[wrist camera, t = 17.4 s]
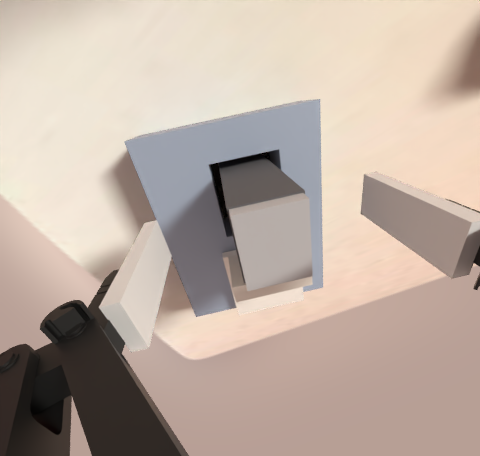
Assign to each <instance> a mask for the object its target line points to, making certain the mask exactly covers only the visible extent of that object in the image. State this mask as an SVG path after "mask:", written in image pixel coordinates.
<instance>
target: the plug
mask: <svg viewBox="0 0 480 456" xmlns="http://www.w3.org/2000/svg"><path fill="white" fill-rule="evenodd" d="M218 164H219V170H220V175H221V181H222V187H223V192H224V198H225V204H226V209H227V213H228V217H229V222H230V226H231V230H232V234H233V238H234V243H235V247H236V251H237V255H238V259H239V264H240V268H241V272H242V276H243V281H244V283H246V287H247V291H251V290H256V289H260V288H264V287H268V286H273V285H277V284H281V283H286V282H290V281H294V280H299V279H303V278H307V277H312V276H313V271H312V248H311V226H310V203H309V198H308V197H307V196H306V195H305V190H304V189H303V188H301V187H300V186H299V185H298V184H297V183H295V182H294V181H293V180H292V179H291V178H290V177H288V176H287V175H286V174H285V173H284V172H282V171H281V170H280V169H279V168H278V167H277V166H275V165H274V164H273V163H272V162H271V161H269V160H268V159H267V158H266V157H265V156H263V155H262V154H261V153H259V154H255V155H250V156H246V157H241V158H237V159H232V160H228V161H223V162H219V163H218Z"/></svg>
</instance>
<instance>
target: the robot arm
mask: <svg viewBox="0 0 480 456" xmlns="http://www.w3.org/2000/svg"><path fill="white" fill-rule="evenodd" d="M361 214H362V215H364V216H365V217H366V218H368V219H369V220H371V221H372V222H373V223H375V224H376V225H378V226H379V227H380V228H382V229H383V230H385V231H386V232H387V233H389V234H390V235H392V236H393V237H394V238H396V239H397V240H398V241H400V242H401V243H403V244H404V245H405V246H407V247H408V248H410V249H411V250H412V251H414V252H415V253H417V254H418V255H419V256H421V257H422V258H424V259H425V260H426V261H428V262H429V263H431V264H432V265H433V266H435V267H436V268H438V269H439V270H440V271H442V272H443V273H444V274H446V275H447V276H449V277H450V278H456V277H461V276H465V275H469V273H470V271H471V268H472V266H473V263H475V264H477V265H478V266H480V212H479V211H476V210H474V209H470V208H469V207H466V206H464V205H463V206H462V205H461V204H459V203H456V202H454V201H451V200H447V199H443V198H441V197H438V196H436V195H433V194H431V193H428V192H426V191H423V190H421V189H418V188H416V187H413V186H411V185H408V184H406V183H403V182H401V181H398V180H396V179H393V178H391V177H388V176H386V175H383V174H381V173H379V172H372V173H367V174H364V182H363V193H362V205H361ZM171 257H172V255H171V253H170V250H169V248H168V246H167V243H166V241H165V238H164V236H163V234H162V231H161V229H160V226H159V224H158V222H157V220H155V221H151V222H146V223H144V225H143V227H142V229H141V230H140V232H139V234H138V236H137V238H136V240H135V241H134V243H133V245H132V247H131V249H130V251H129V253H128V254H127V256H126V258H125V260H124V262H123V264H122V265H121V267H120V269H119V270H115V271H113V272H112V273H111V274H110V275H108V276H107V277H106V278H105V280H104V281H103V283H102V285H101V288H100V289H99V290H98V292H97V295H95V297H94V298H93V300H92V302H91V304H90V305H89V307H88V308H87V307H86V305H85V304H84V303H83V302H82V301H80V300H74V301H70V302H67V303H65V304H63V305H61V306H59V307H57V308H56V309H55V310H53V311H52V312H50V313H49V314H48V315H47V316H46V317H45V319H44V320H43V321H42V323H41V326H40V330H41V331H42V332H43V333H45V335H46V336H47V337H48V338H49V339H50V340H51V341H52V343H50V344H48V345H46V346H44V347H42V348H40V349H37V350H35V351H34V350H33V349H32V348H31V347H30V346H29V345H27V344H22V345H17V346H15V347H12V348H10V349H9V350H7V351H5V352H3V353H2V354H0V456H70V429H71V427H70V426H71V399H72V397H73V400H74V403H75V406H76V409H77V412H78V415H79V418H80V421H81V424H82V427H83V430H84V433H85V436H86V439H87V442H88V445H89V448H90V451H91V454H92V456H189V455H188V454H187V452H186V451H185V449H184V448H183V446H182V445H181V443H180V441H179V440H178V438H177V437H176V435H175V434H174V432H173V431H172V429H171V428H170V426H169V425H168V423H167V422H166V420H165V419H164V417H163V415H162V414H161V412H160V411H159V409H158V408H157V406H156V405H155V403H154V402H153V400H152V399H151V397H150V396H149V394H148V392H147V391H146V390H145V388H144V386H143V385H142V383H141V382H140V380H139V379H138V377H137V376H136V374H135V373H134V371H133V370H132V368H131V367H130V365H129V364H128V362H127V360H126V359H125V358H124V356H123V355H122V351H123V348H124V345H126V346H127V347H128V349H129V350H130V352H135V351H139V350H143V349H148V348H149V346H150V342H151V338H152V334H153V330H154V326H155V322H156V318H157V314H158V310H159V306H160V302H161V297H162V293H163V289H164V285H165V281H166V277H167V273H168V269H169V265H170V261H171ZM479 286H480V274H479V276H478V278H477V281H476V283H475V285H474V289H475V290H477V289H478V287H479Z"/></svg>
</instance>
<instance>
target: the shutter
mask: <svg viewBox="0 0 480 456" xmlns="http://www.w3.org/2000/svg"><path fill="white" fill-rule="evenodd" d="M222 256H223V261H224V264H225V268H226V272H227V275H228V279H229V282H230V286H231V290H232V293H233V297H234V300H235V304H236V308H237V311H238V315H242V314H247V313H251V312H255V311H259V310H264V309H268V308H272V307H277V306H281V305H285V304H289V303H294V302H298V301H302V300H304V296H303V287H305V286H309V285H313V283H312V277H307V278H303V279H299V280H294V281H290V282H286V283H281V284H277V285H273V286H268V287H264V288H260V289H256V290H251V291H247V287H246V283H244V281H243V276H242V272H241V268H240V264H239V259H238V255H237V251H236V250H233V251H229V252H224V253H222Z"/></svg>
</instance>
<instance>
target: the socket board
mask: <svg viewBox="0 0 480 456" xmlns="http://www.w3.org/2000/svg"><path fill="white" fill-rule="evenodd" d="M125 145H126V147H127V149H128V152H129V154H130V157H131V159H132V162H133V164H134V167H135V169H136V171H137V174H138V176H139V179H140V181H141V184H142V186H143V188H144V191H145V193H146V196H147V198H148V201H149V203H150V205H151V208H152V210H153V213H154V215H155V218H156V220H157V222H158V224H159V226H160V229H161V231H162V234H163V236H164V238H165V241H166V243H167V246H168V248H169V250H170V253H171V255H172V259H173V261H174V264H175V266H176V269H177V271H178V274H179V276H180V279H181V281H182V283H183V286H184V288H185V291H186V293H187V296H188V298H189V300H190V303H191V305H192V308H193V310H194V313H195V315H196V317H198V316H202V315H206V314H211V313H215V312H219V311H224V310H228V309H232V308H236V304H235V300H234V297H233V293H232V290H231V286H230V282H229V279H228V275H227V272H226V268H225V264H224V261H223V256H222V253H224V252H229V251H233V250H236V247H235V243H234V238H233V234H232V230H231V226H230V222H229V217H227V218H224V216H223V212H222V208H221V204H220V200H219V196H218V192H217V188H216V184H215V180H214V176H213V172H212V168H211V164H214V163H219V162H223V161H228V160H232V159H237V158H241V157H246V156H250V155H255V154H259V153H264V152H269V160H270V161H271V162H272V163H273V164H274V165H275V166H277V167H278V168H279V169H280V170H281V171H282V172H284V173H285V174H286V175H287V176H288V177H290V178H291V179H292V180H293V181H294V182H295V183H297V184H298V185H299V186H300V187H301V188H303V189H304V190H305V195H306V196H307V197H308V198H309V203H310V226H311V248H312V271H313V276H312V283H313V285H309V286H305V287H303V292H305V291H309V290H314V289H318V288H322V287H323V253H322V190H321V127H320V99H317V100H306V101H298V102H293V103H289V104H284V105H279V106H275V107H270V108H265V109H261V110H256V111H252V112H247V113H242V114H238V115H233V116H228V117H224V118H219V119H215V120H210V121H205V122H201V123H196V124H192V125H187V126H182V127H178V128H173V129H168V130H164V131H159V132H155V133H150V134H145V135H141V136H138V137H135V138H133V139H130V140H127V141H125Z"/></svg>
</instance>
